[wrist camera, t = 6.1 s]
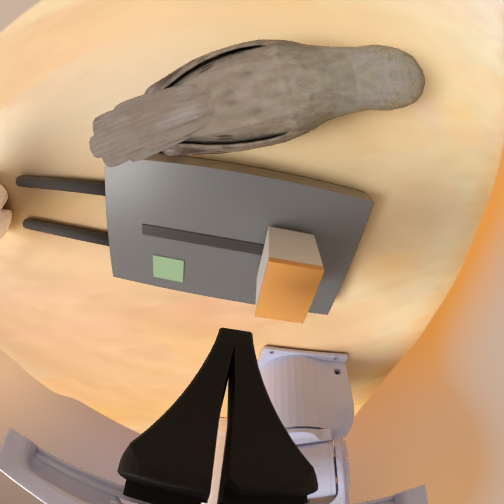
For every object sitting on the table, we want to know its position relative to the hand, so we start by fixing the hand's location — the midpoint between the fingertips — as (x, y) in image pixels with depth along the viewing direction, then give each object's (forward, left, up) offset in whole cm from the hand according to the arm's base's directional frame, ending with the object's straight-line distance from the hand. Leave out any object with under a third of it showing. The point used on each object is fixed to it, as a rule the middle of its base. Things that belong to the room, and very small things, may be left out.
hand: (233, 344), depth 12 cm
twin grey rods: (+16, 0, -10) cm, 19 cm away
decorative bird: (0, -10, -11) cm, 15 cm away
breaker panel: (+1, 0, -10) cm, 10 cm away
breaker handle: (-3, 0, -8) cm, 8 cm away
